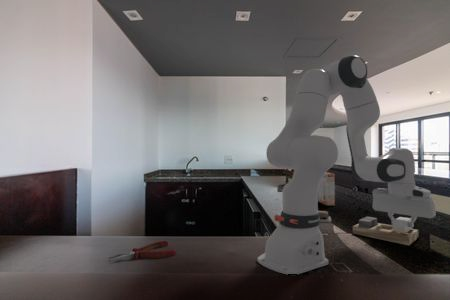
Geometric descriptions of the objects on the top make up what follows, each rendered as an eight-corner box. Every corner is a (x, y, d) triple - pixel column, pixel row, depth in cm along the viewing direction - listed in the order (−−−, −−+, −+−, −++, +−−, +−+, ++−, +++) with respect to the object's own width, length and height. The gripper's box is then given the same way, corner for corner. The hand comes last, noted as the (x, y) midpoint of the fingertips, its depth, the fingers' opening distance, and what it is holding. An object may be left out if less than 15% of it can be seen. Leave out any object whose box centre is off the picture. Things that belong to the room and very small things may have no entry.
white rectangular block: (405, 233, 95) (404, 222, 95) (392, 231, 98) (392, 220, 98) (411, 228, 101) (411, 218, 101) (400, 226, 104) (399, 216, 104)
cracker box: (335, 205, 165) (335, 173, 166) (326, 205, 165) (325, 173, 166) (326, 201, 179) (326, 171, 180) (318, 201, 179) (317, 172, 180)
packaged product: (293, 211, 130) (294, 207, 140) (293, 220, 130) (295, 216, 140) (331, 213, 124) (330, 209, 134) (331, 223, 124) (330, 218, 133)
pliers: (107, 257, 85) (107, 249, 85) (166, 246, 95) (166, 239, 95) (110, 270, 75) (111, 261, 75) (176, 257, 85) (176, 249, 85)
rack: (409, 245, 92) (408, 230, 92) (352, 233, 107) (352, 220, 107) (418, 237, 101) (418, 223, 101) (365, 227, 116) (365, 215, 116)
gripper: (369, 188, 106) (370, 222, 105) (432, 193, 90) (433, 233, 90) (375, 186, 110) (375, 219, 109) (436, 191, 94) (437, 229, 94)
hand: (402, 225), depth 100 cm, fingers closed on white rectangular block, 4 cm apart
